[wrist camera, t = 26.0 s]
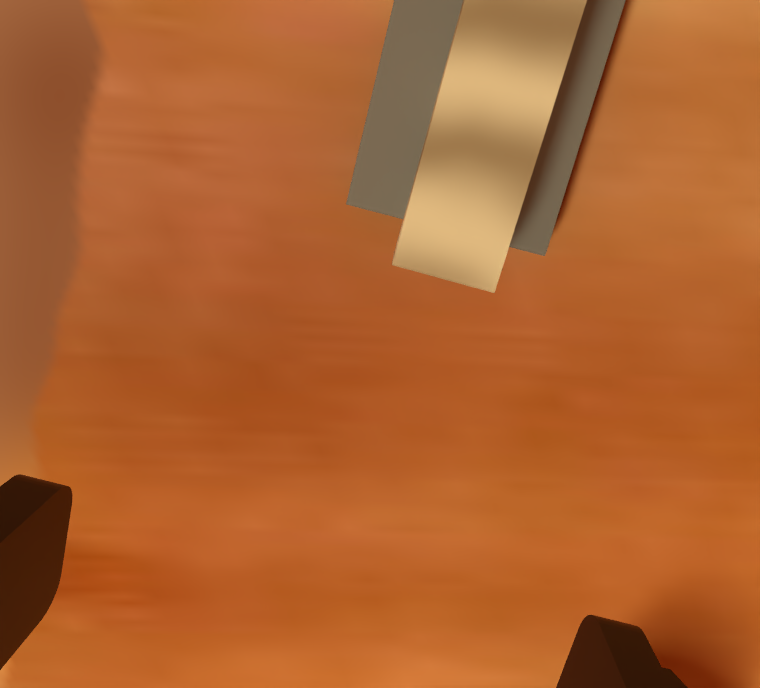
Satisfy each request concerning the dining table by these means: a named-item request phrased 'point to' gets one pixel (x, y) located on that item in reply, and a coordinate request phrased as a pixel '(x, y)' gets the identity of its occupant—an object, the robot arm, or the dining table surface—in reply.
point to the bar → (485, 137)
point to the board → (418, 96)
